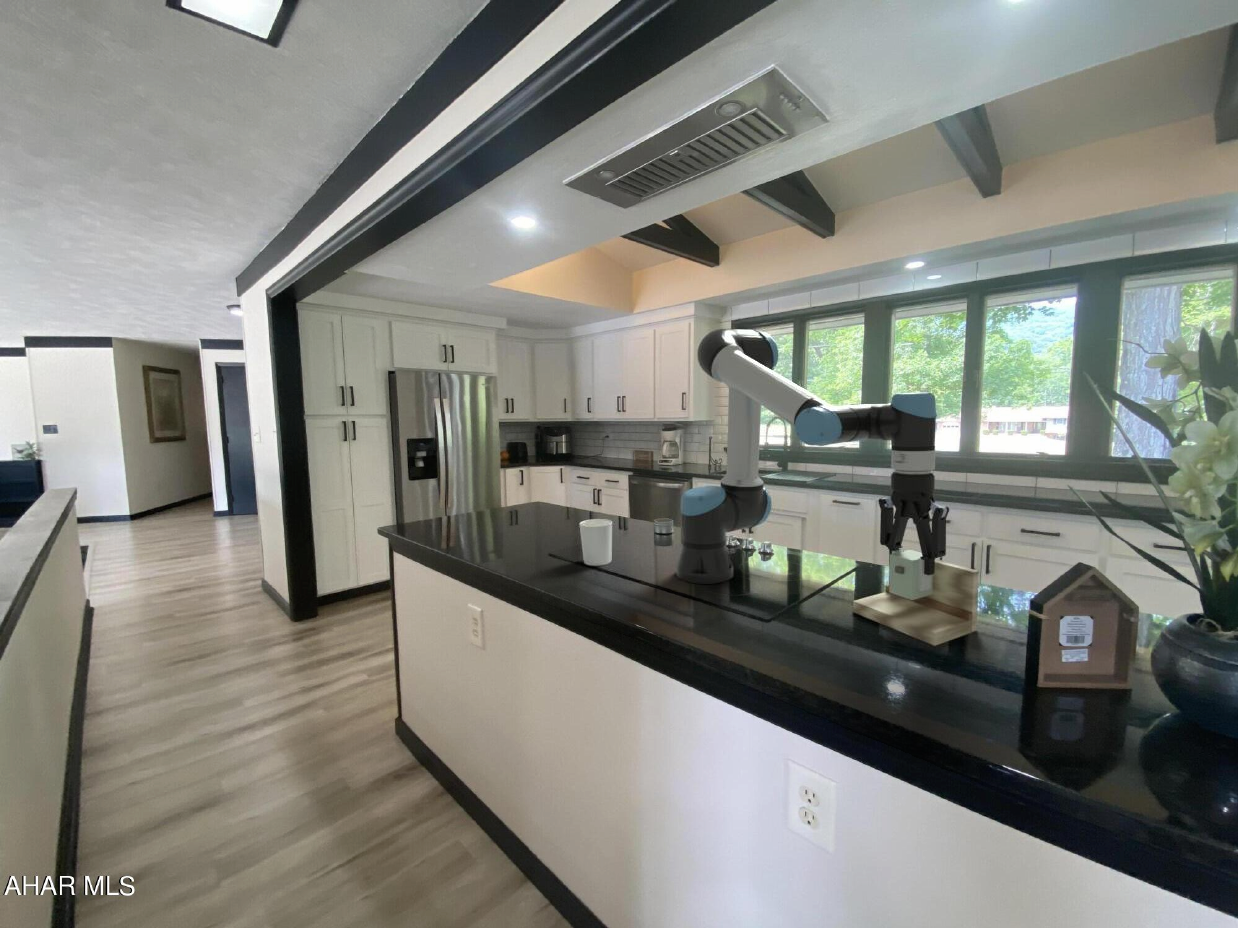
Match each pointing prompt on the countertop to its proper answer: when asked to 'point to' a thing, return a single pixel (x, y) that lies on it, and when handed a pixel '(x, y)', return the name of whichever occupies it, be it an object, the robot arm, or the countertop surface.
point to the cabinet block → (906, 575)
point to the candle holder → (596, 541)
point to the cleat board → (929, 606)
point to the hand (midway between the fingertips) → (910, 584)
